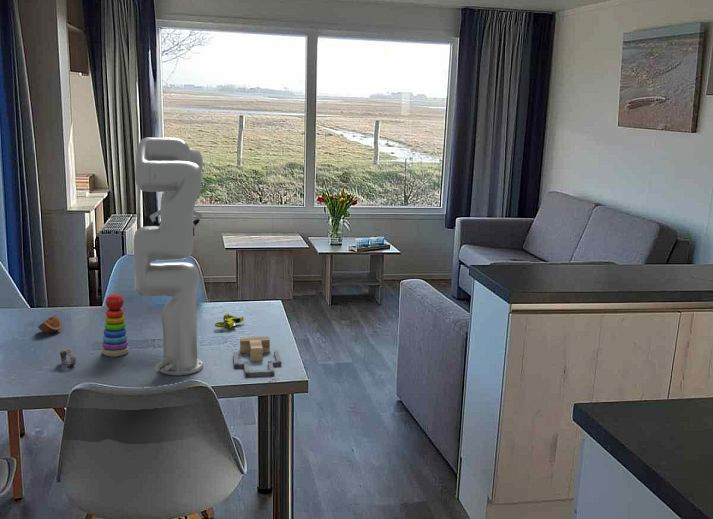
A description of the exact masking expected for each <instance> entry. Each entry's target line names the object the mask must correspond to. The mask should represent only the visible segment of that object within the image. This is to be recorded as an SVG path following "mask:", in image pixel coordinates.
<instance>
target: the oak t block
mask: <svg viewBox="0 0 713 519" xmlns="http://www.w3.org/2000/svg"><path fill="white" fill-rule="evenodd" d="M270 339H271V338H270V336H269V335H267V336H248V337H247V336H243V337H239V351H240V354H249V357H250V361H251V362H254V361H255V362H256V361H257V362H259V361H264V357H263V355H264V354H263V353H270V352H271V349H270V346H271V344H270V343H271V340H270Z"/></svg>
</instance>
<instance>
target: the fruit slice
mask: <svg viewBox="0 0 713 519" xmlns="http://www.w3.org/2000/svg"><path fill="white" fill-rule="evenodd" d="M62 324H63V323H62V321H61V319H60V318H59V316H58V315H57V314H54V315H53V316H51V317H50V318H47V320H45V321H43V323H41V324H40V325H38V326H37V328H38V329H39V330H40V331H42V332H44V333H47V334H53V333H57V332H58V331H60V330H61V329H62V327H63V325H62Z"/></svg>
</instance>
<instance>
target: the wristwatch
mask: <svg viewBox="0 0 713 519" xmlns="http://www.w3.org/2000/svg"><path fill="white" fill-rule="evenodd" d="M59 355H60V356H59V357H60V360H61V363H62V365H64V364H65V366H66V365H67V366H66V367H68V366H69V367H72V366H75V365H76V363H77V359H76V358H77V357H76V356H75V355H74V352H73V349H72V348H69V347H68V348H64V349H63V350H61V351H59ZM67 356H68V358H69V360H70V362H69V361H68V360H67Z"/></svg>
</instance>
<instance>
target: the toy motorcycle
mask: <svg viewBox="0 0 713 519" xmlns="http://www.w3.org/2000/svg"><path fill="white" fill-rule="evenodd" d="M242 322H244V316H241V317H236V316H234V315H230V313H229V312H226V313H224V314H223V322H222V321H220V322H219V321H218V322H215V323H214V326H215V328H225V327H227V328H228V329H230V328H232V327H234V329H236V325H237V324H238V323H239V324H240V323H242Z"/></svg>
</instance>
